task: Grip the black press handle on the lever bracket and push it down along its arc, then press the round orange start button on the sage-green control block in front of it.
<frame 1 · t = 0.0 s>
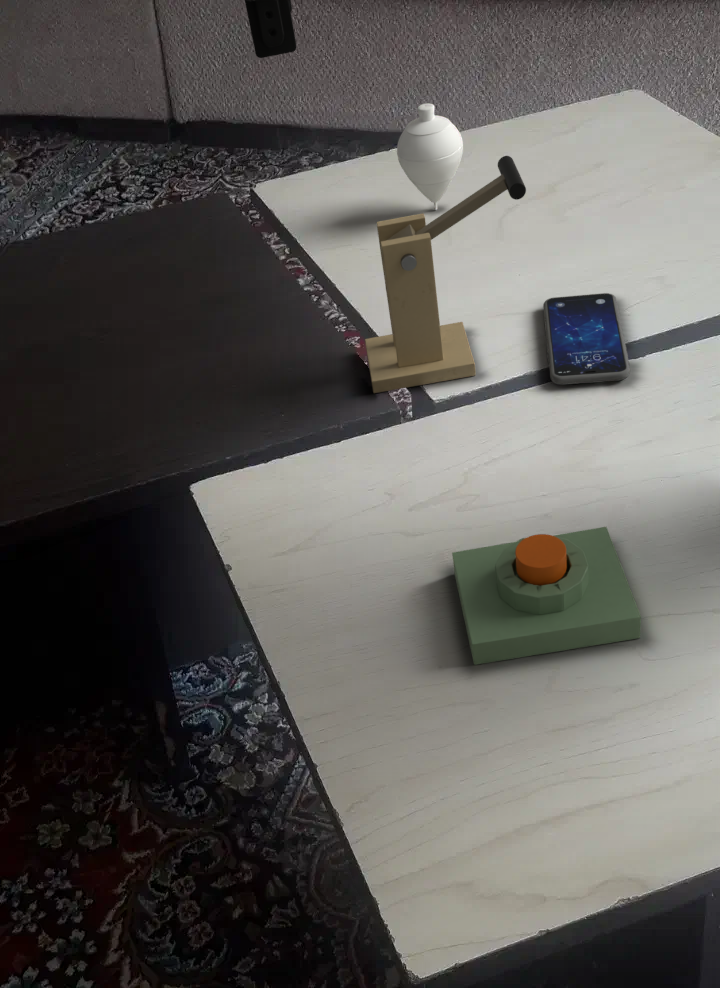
hand: (275, 34, 85), 31 cm above the table, tool pointing down, fingers open, 9 cm apart
press lever: (454, 215, 95), point 14 cm above the table, hinge at 25.0°
control block: (542, 604, 80), on the table
start button: (541, 559, 77), point 5 cm above the table, slide at 0.2 cm
spinning top: (436, 211, 128), on the table
smartphone: (584, 343, 103), on the table
lever bracket: (419, 362, 105), on the table
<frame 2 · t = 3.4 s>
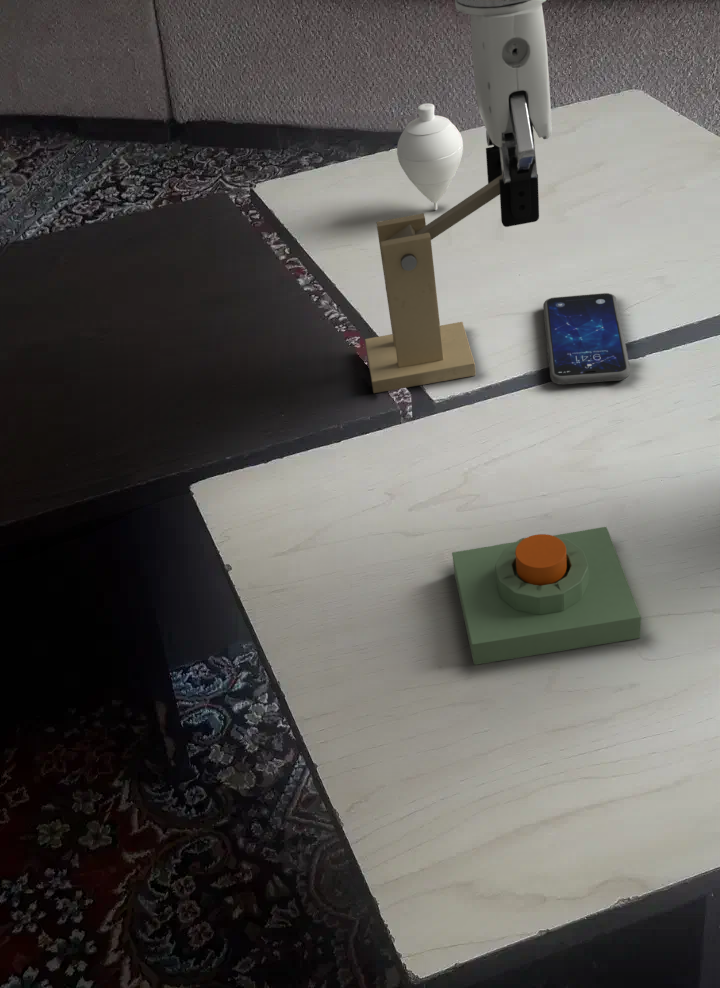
hand: (513, 204, 95), 14 cm above the table, tool pointing down, fingers closed on press lever, 6 cm apart
press lever: (454, 215, 95), point 14 cm above the table, hinge at 25.0°, touching gripper
everything else where it was.
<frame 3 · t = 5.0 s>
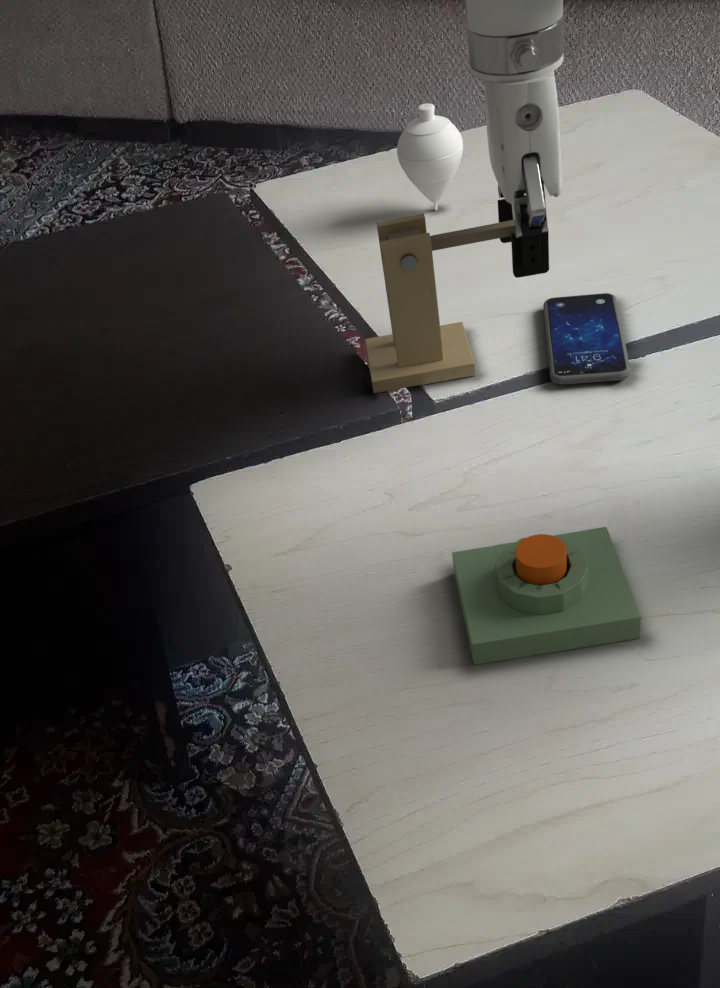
hand: (523, 254, 98), 9 cm above the table, tool pointing down, fingers closed on press lever, 6 cm apart
press lever: (461, 237, 96), point 12 cm above the table, hinge at 0.4°, touching gripper
everything else where it was.
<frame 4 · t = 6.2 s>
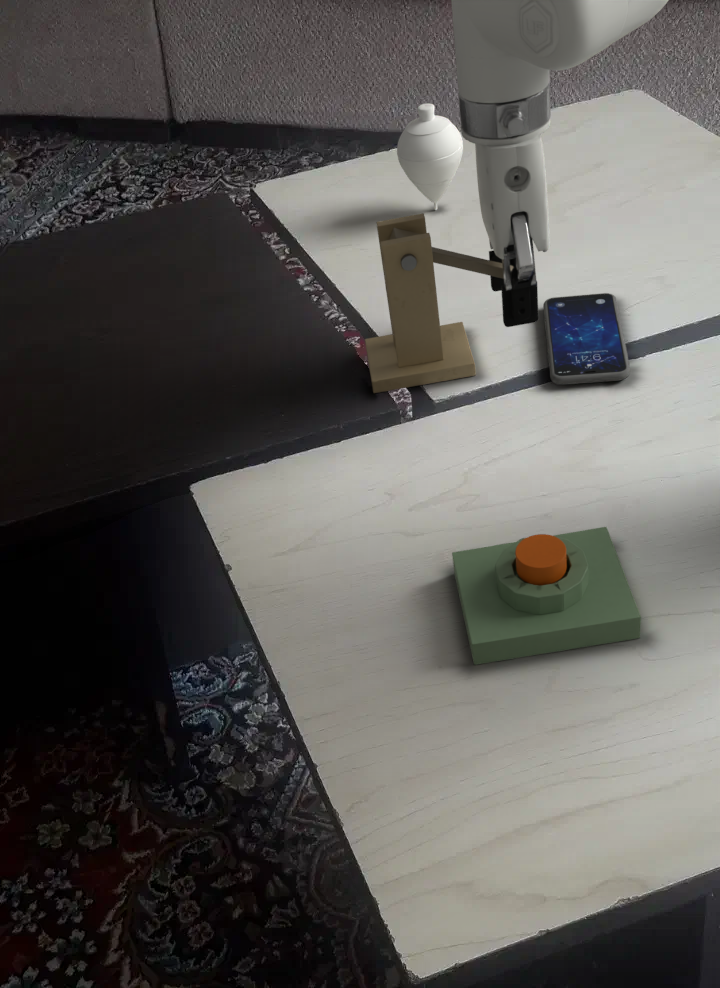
hand: (514, 303, 101), 5 cm above the table, tool pointing down, fingers closed on press lever, 6 cm apart
press lever: (458, 260, 98), point 10 cm above the table, hinge at -24.1°, touching gripper
everything else where it was.
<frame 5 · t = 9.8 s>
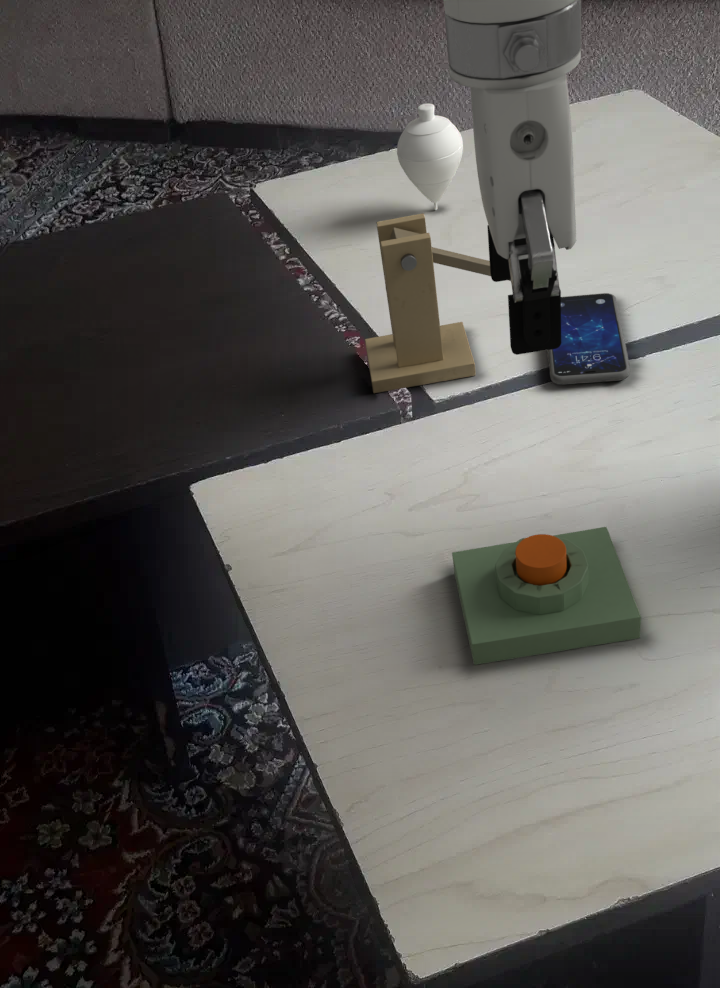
hand: (524, 311, 72), 19 cm above the table, tool pointing down, fingers open, 9 cm apart
press lever: (458, 260, 98), point 10 cm above the table, hinge at -24.4°
everything else where it was.
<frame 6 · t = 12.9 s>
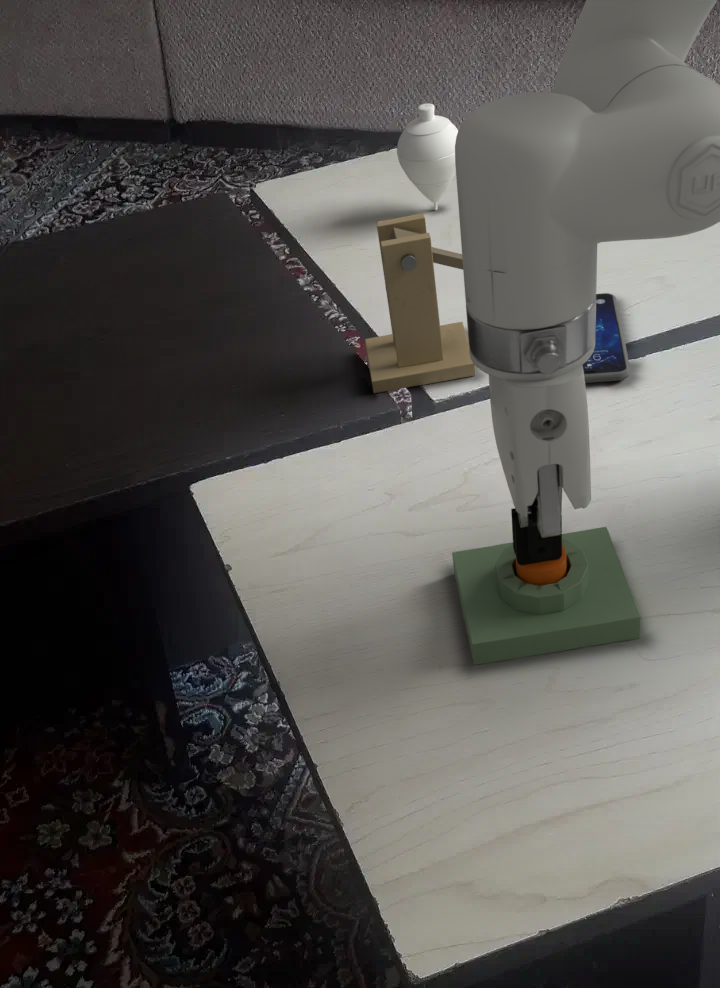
hand: (537, 554, 76), 5 cm above the table, tool pointing down, fingers closed
start button: (541, 563, 77), point 4 cm above the table, slide at -0.2 cm, touching gripper
everything else where it was.
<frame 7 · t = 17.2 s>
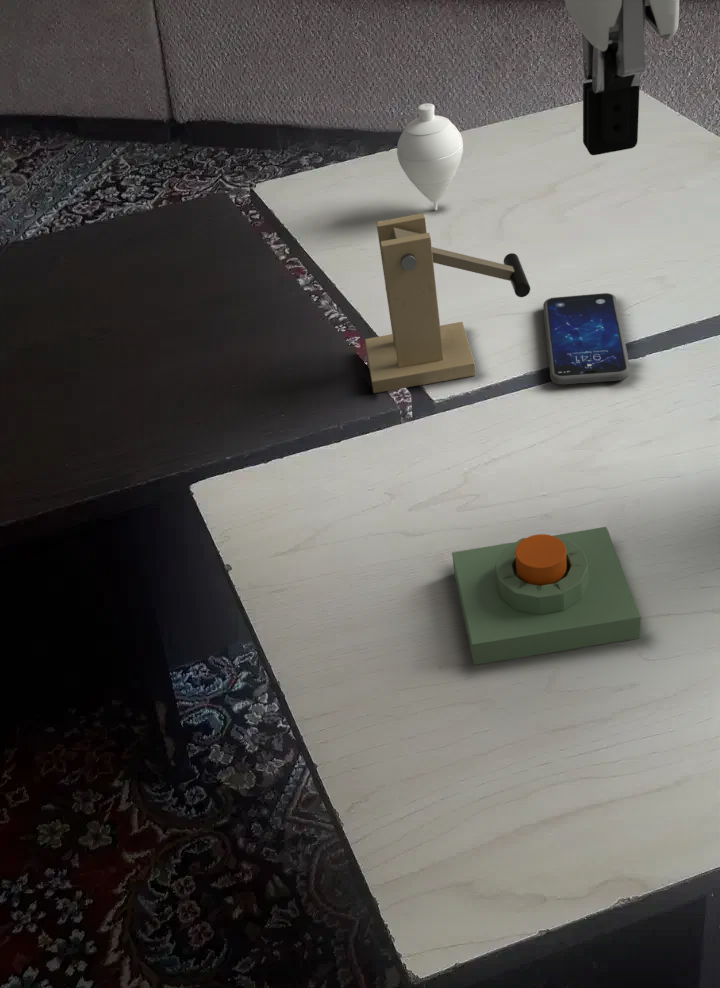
hand: (609, 146, 70), 27 cm above the table, tool pointing down, fingers closed
start button: (541, 559, 77), point 5 cm above the table, slide at 0.2 cm
everything else where it was.
at the end: press lever at -24° (first picture: +25°); start button pushed in 1.1 cm at the most during the clip, back to 0.2 cm at the end; start button slide at 0.2 cm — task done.
